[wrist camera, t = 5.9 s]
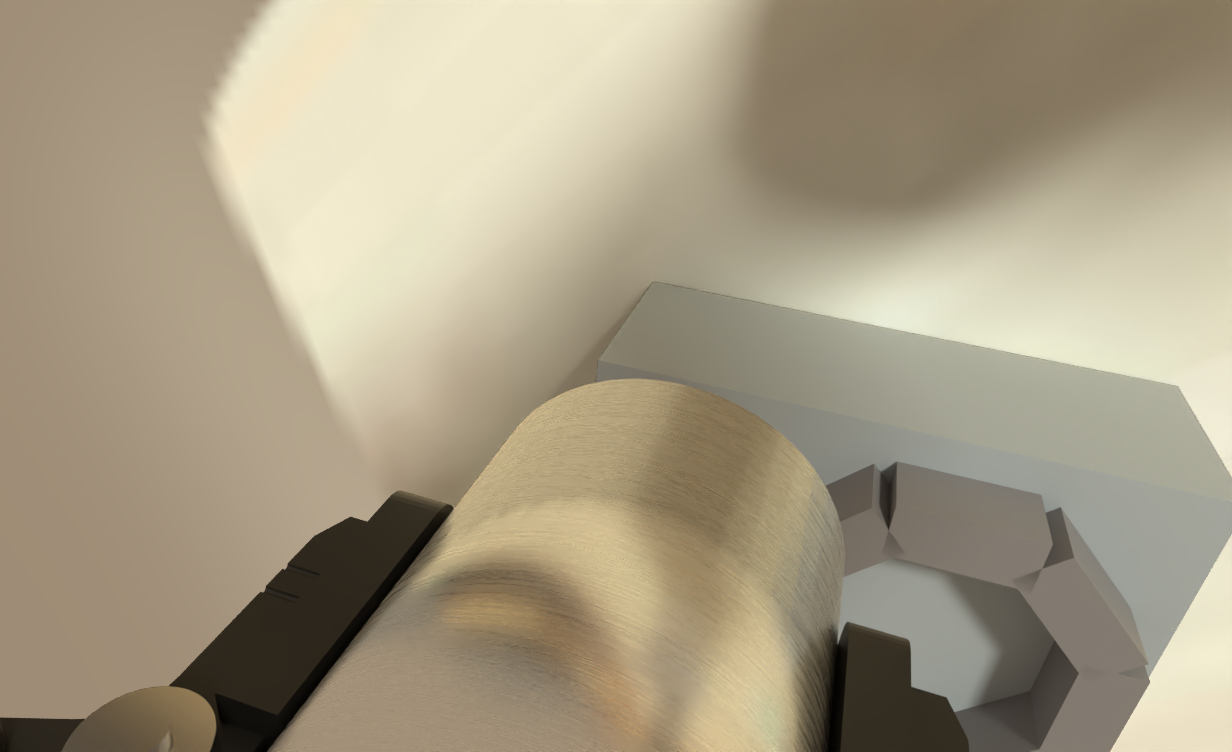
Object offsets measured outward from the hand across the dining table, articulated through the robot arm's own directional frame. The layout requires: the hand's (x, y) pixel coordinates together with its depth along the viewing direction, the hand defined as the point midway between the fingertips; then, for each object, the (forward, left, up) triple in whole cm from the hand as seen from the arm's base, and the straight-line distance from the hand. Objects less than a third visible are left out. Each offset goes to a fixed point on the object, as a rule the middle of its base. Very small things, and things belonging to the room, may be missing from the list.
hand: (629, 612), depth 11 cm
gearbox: (+12, +4, -18) cm, 22 cm away
